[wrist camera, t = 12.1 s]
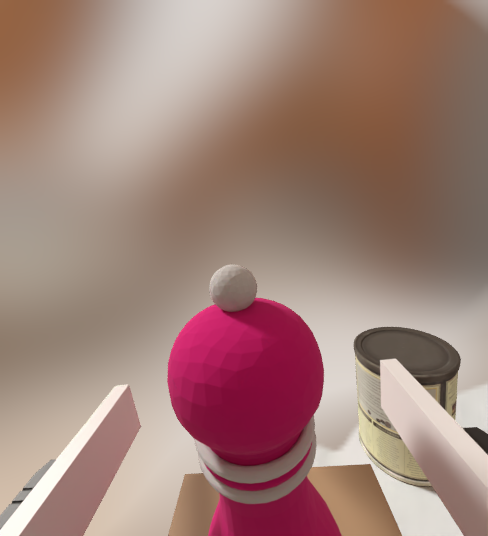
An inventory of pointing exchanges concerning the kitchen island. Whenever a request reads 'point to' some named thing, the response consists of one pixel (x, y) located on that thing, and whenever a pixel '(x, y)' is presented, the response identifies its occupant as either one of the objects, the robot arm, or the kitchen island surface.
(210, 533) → the pepper mill
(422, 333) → the coffee can
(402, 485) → the kitchen island surface
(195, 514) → the stool
